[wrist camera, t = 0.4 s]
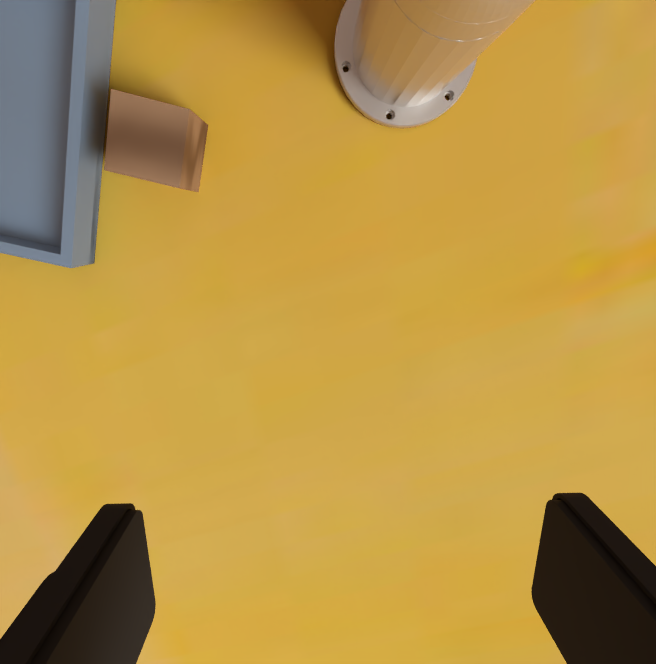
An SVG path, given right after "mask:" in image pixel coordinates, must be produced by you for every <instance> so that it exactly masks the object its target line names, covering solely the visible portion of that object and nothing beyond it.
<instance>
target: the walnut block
mask: <svg viewBox="0 0 656 664" xmlns="http://www.w3.org/2000/svg"><path fill="white" fill-rule="evenodd" d="M207 130H208V125H207V124H206V123H205V122H204V121H203V120H202V119H200V118H199V117H198V116H197V115H196V114H195V113H193V112H192V111H191V110H190V109H187V108H183V107H179V106H175V105H171V104H168V103H164V102H160V101H156V100H152V99H148V98H145V97H141V96H137V95H133V94H129V93H125V92H122V91H118V90H114V89H111V96H110V108H109V119H108V131H107V143H106V155H105V167H104V170H106V171H110V172H114V173H118V174H123V175H127V176H131V177H135V178H139V179H143V180H147V181H152V182H156V183H160V184H164V185H168V186H172V187H176V188H181V189H186V190H190V191H195V192H199V186H200V179H201V172H202V165H203V158H204V151H205V144H206V137H207Z"/></svg>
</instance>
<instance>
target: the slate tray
mask: <svg viewBox="0 0 656 664" xmlns="http://www.w3.org/2000/svg"><path fill="white" fill-rule="evenodd" d="M115 6H116V0H0V253H4V254H9V255H13V256H18V257H23V258H27V259H32V260H36V261H41V262H46V263H50V264H55V265H59V266H64V267H68V268H74V267H79V266H83V265H88V264H93V263H94V259H95V247H96V235H97V223H98V211H99V199H100V187H101V175H102V162H103V150H104V138H105V126H106V114H107V102H108V90H109V78H110V66H111V54H112V42H113V30H114V18H115Z"/></svg>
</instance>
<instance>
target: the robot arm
mask: <svg viewBox="0 0 656 664" xmlns="http://www.w3.org/2000/svg"><path fill="white" fill-rule="evenodd" d="M534 1H535V0H346V2H345V4H344V6H343V8H342V10H341V13H340V16H339V20H338V23H337V27H336V33H335V45H334V57H335V65H336V71H337V74H338V77H339V80H340V84H341V86H342V88H343V90H344V92H345V94H346V95H347V97H348V98H349V100H350V101H351V102H352V104H353V105H354V106H355V108H357V109H358V110H359V111H360V112H361V113H362V114H363V115H364V116H366V117H367V118H369V119H371V120H372V121H374V122H376V123H378V124H381V125H384V126H387V127H393V128H411V127H417V126H420V125H423V124H426V123H428V122H430V121H432V120H434V119H436V118H437V117H439V116H440V115H442V114H443V113H444V112H446V111H447V110H448V109H449V108H450V107H451V106H452V105H453V104H454V103H455V102H456V101H457V100H458V99H459V97H460V96H461V94H462V93H463V92H464V90H465V89H466V87H467V85H468V83H469V81H470V79H471V76H472V74H473V71H474V68H475V64H476V61H477V57H478V56H479V55H480V54H481V53H482V52H483V51H484V50H485V49H486V48H487V47H488V46H489V45H491V44H492V43H493V42H494V41H495V40H496V39H497V38H498V37H499V36H500V35H501V34H502V33H503V32H504V31H505V30H506V29H507V28H508V27H509V26H510V25H511V24H512V23H513V22H514V21H515V20H516V19H517V18H518V17H519V16H520V15H521V14H522V13H523V12H524V11H525V10H526V9H527V8H528V7H529V6H530V5H531V4H532V3H533V2H534ZM344 67H347V68H348V72H344V71H343V68H344ZM445 95H447V96H448V97H449V100H448V101H447V100H446V99H445ZM387 114H390V115H391V119H387V118H386V115H387ZM532 599H533V603H534V605H535V608H536V610H537V612H538V613H539V615H540V617H541V619H542V620H543V622H544V624H545V626H546V627H547V629H548V631H549V633H550V634H551V636H552V638H553V640H554V642H555V643H556V645H557V647H558V649H559V650H560V652H561V654H562V656H563V657H564V659H565V661H566V663H567V664H656V566H655V565H654V564H653V563H652V562H651V561H650V560H649V559H648V558H647V557H646V556H645V555H644V554H643V553H642V552H641V551H640V550H639V549H638V548H637V547H636V546H635V545H634V544H633V543H632V541H631V540H630V539H629V538H628V537H627V536H626V535H625V534H624V533H623V532H622V531H621V530H620V529H619V528H618V527H617V526H616V525H615V524H614V523H613V522H612V521H611V520H610V519H609V518H608V517H607V516H606V515H605V514H604V513H603V512H602V511H601V510H600V509H599V508H598V507H597V506H596V505H595V504H594V503H593V502H592V501H591V500H590V499H589V498H588V497H587V496H586V495H585V494H583V493H557V494H555V495H554V496H553V499H552V500H549V501H548V502H547V504H546V509H545V514H544V520H543V526H542V532H541V538H540V544H539V550H538V555H537V561H536V567H535V573H534V579H533V585H532ZM155 605H156V604H155V595H154V589H153V582H152V575H151V568H150V561H149V554H148V548H147V541H146V534H145V527H144V520H143V514H142V512H141V511H140V510H135V507H134V505H133V504H131V503H129V504H106V505H103V507H102V508H101V509H100V510H99V511H98V513H97V514H96V516H95V517H94V518H93V520H92V521H91V523H90V524H89V525H88V527H87V528H86V529H85V531H84V532H83V534H82V535H81V536H80V538H79V539H78V540H77V542H76V543H75V545H74V546H73V547H72V549H71V550H70V552H69V553H68V554H67V556H66V557H65V558H64V560H63V561H62V563H61V564H60V565H59V567H58V568H57V569H56V571H55V572H53V573H51V574H50V575H49V576H48V577H47V578H46V579H45V580H44V581H43V582H42V584H41V585H40V586H39V588H38V589H37V590H36V592H35V593H34V594H33V596H32V597H31V598H30V600H29V601H28V603H27V604H26V605H25V607H24V608H23V609H22V611H21V612H20V613H19V615H18V616H17V617H16V619H15V620H14V622H13V623H12V624H11V626H10V627H9V628H8V630H7V631H6V632H5V634H4V635H3V636H2V638H1V639H0V664H136V662H137V660H138V657H139V655H140V652H141V649H142V647H143V644H144V642H145V639H146V637H147V634H148V632H149V629H150V627H151V624H152V621H153V618H154V614H155Z"/></svg>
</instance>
